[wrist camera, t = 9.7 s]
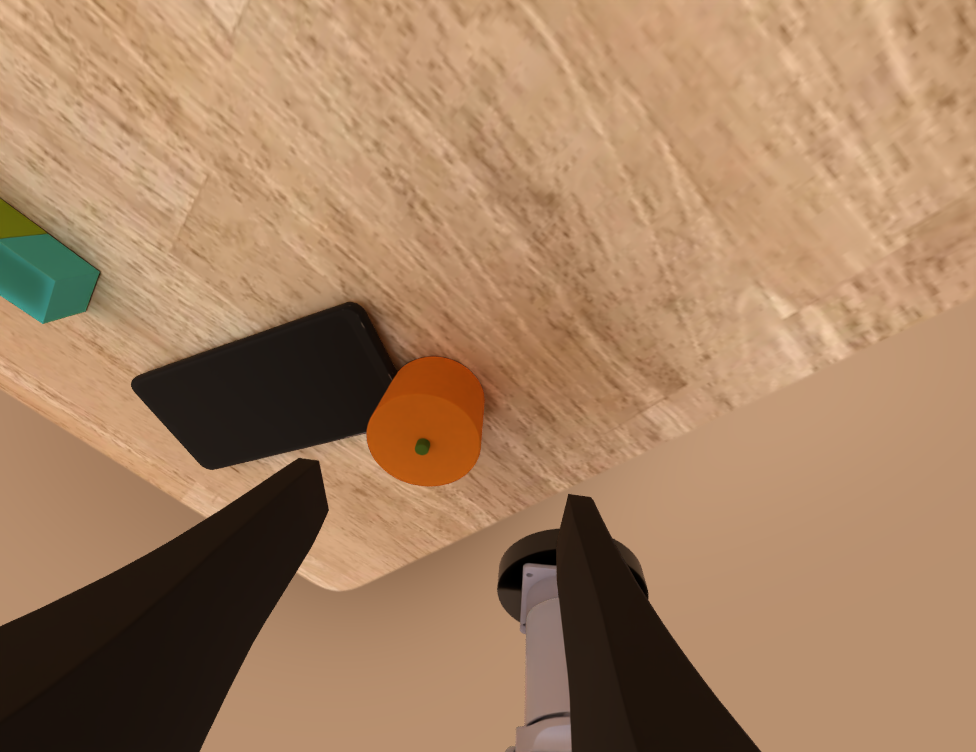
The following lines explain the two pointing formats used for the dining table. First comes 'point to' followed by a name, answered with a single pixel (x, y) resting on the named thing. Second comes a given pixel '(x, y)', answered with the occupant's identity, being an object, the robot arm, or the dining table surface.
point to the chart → (41, 270)
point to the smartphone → (273, 389)
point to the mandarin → (428, 423)
